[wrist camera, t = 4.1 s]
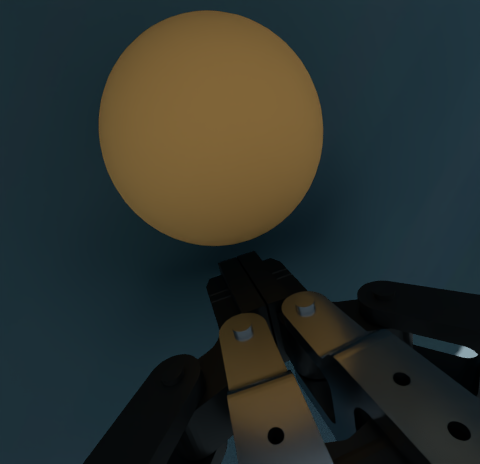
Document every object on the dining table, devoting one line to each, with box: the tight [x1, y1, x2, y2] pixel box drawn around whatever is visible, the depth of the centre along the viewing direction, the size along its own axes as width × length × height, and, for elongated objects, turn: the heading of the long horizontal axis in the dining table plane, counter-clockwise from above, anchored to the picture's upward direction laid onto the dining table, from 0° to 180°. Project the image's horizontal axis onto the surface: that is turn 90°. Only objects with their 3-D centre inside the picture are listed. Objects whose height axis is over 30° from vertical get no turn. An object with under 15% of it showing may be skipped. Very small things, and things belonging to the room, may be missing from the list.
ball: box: [99, 10, 323, 246], centre depth 8 cm, size 6×6×6 cm
